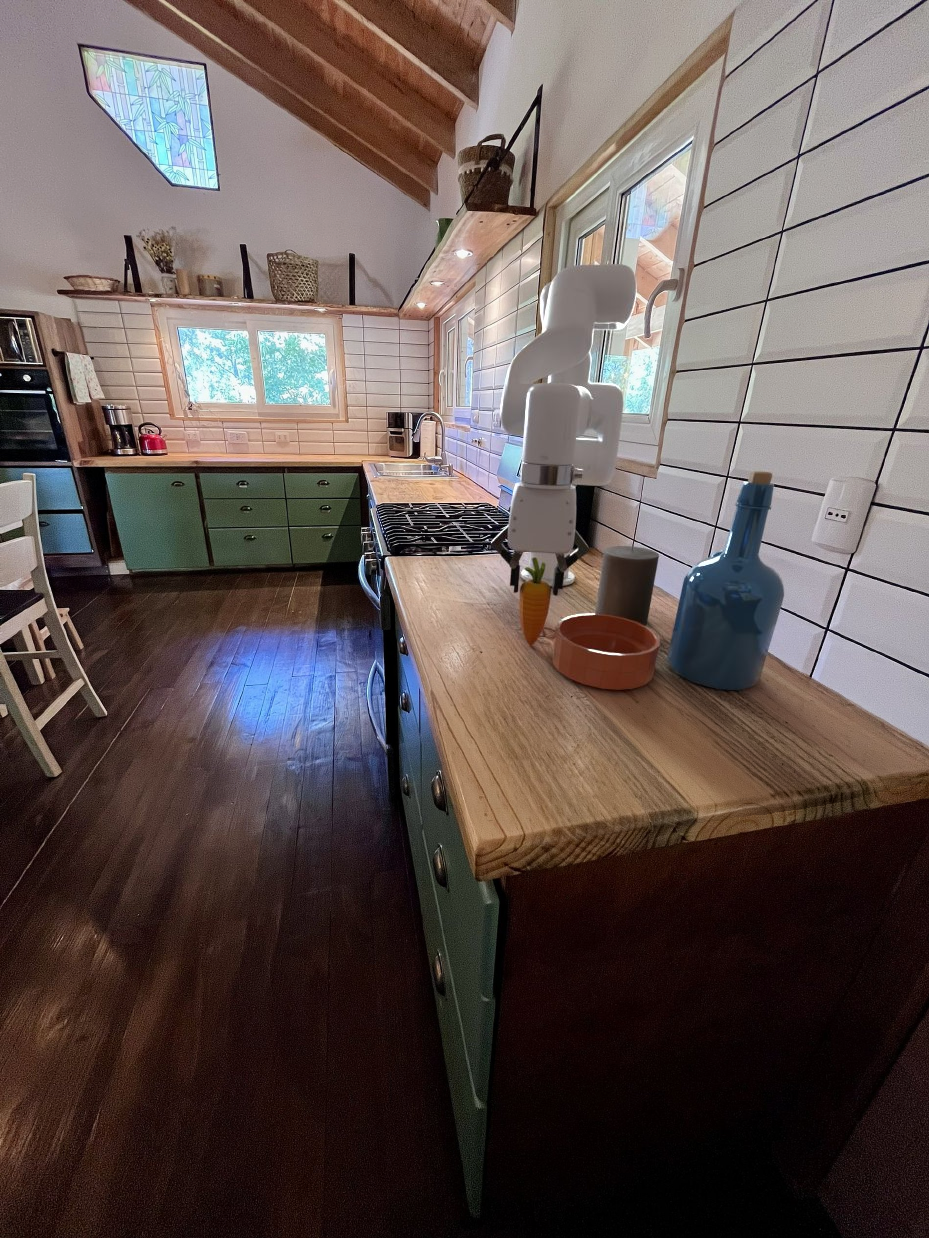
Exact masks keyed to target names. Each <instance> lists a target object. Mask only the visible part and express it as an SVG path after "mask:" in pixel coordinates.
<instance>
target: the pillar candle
mask: <svg viewBox="0 0 929 1238" xmlns="http://www.w3.org/2000/svg"><path fill="white" fill-rule="evenodd" d="M602 555H603V556H602V563H601V570H600V575H599V584H598V590H597V598H596V606H595V613H594V614H605V615H612V616H617V617H622V618H626V619H629V620H633V621H636V622H638V623H641V624H643V625H645V626H647V625H648V621H649V613H650V610H651V602H652V599H653V592H654V586H655V580H656V575H657V569H658V563H659V557H660V554H659V553H658V552H657V551H655V550H653V549H649V548H645V547H641V546H640V547H639V546H636V545H635V546H634V544H632V545H612V546H608V547H605V548H603V554H602ZM647 627H648V626H647Z"/></svg>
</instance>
